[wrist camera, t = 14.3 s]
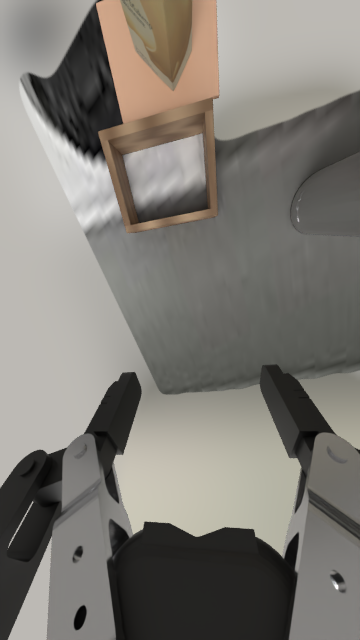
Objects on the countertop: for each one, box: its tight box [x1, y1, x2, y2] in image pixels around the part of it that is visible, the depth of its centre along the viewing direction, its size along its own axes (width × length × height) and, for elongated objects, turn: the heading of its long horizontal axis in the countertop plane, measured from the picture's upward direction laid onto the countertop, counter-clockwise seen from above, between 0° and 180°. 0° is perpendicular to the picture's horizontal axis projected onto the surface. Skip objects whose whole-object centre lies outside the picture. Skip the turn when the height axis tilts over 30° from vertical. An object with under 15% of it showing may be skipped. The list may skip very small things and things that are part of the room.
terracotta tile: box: [96, 0, 219, 124], centre depth 21 cm, size 14×10×1 cm
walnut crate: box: [98, 97, 218, 233], centre depth 25 cm, size 15×12×5 cm
